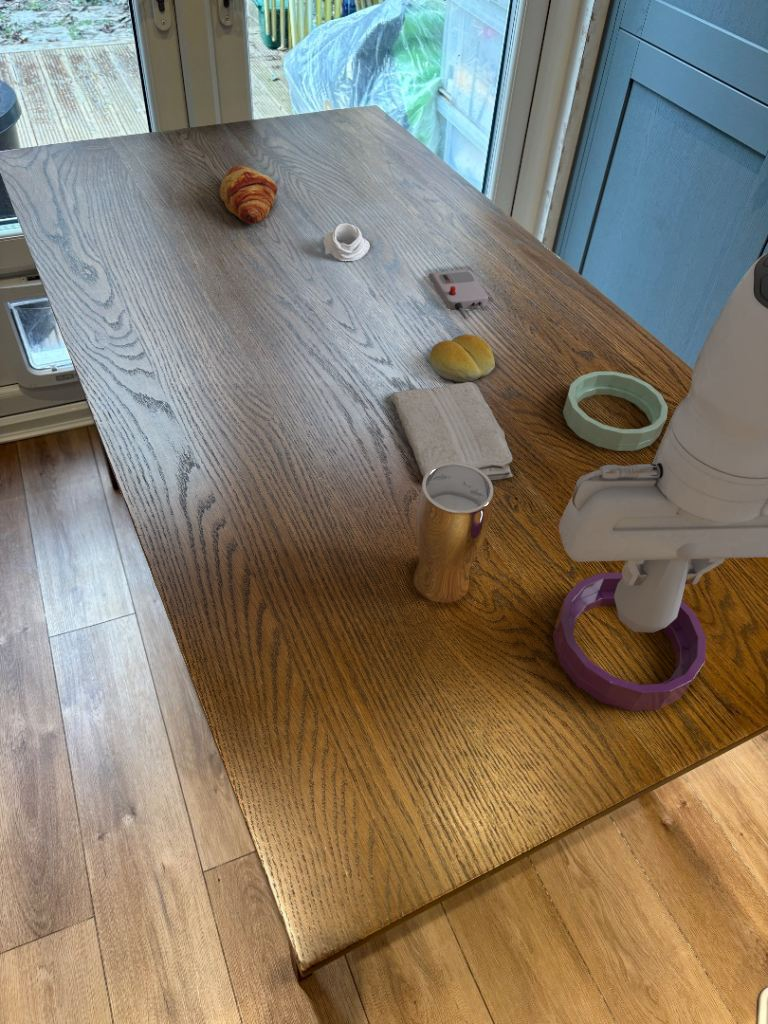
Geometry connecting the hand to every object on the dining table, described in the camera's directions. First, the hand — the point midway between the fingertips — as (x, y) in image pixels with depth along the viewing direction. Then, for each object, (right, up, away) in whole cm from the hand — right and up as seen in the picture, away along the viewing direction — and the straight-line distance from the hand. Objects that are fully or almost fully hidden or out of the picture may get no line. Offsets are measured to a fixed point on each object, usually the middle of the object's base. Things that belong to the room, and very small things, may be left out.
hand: (658, 579), depth 66 cm
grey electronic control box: (-12, +40, +54) cm, 68 cm away
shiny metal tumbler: (-18, -2, +13) cm, 23 cm away
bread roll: (-13, +27, +41) cm, 50 cm away
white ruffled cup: (-31, +50, +61) cm, 84 cm away
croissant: (-49, +62, +71) cm, 106 cm away
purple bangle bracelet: (-1, -8, +9) cm, 12 cm away
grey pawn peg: (0, -4, +4) cm, 6 cm away
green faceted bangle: (+6, +18, +33) cm, 38 cm away
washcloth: (-16, +15, +29) cm, 37 cm away
